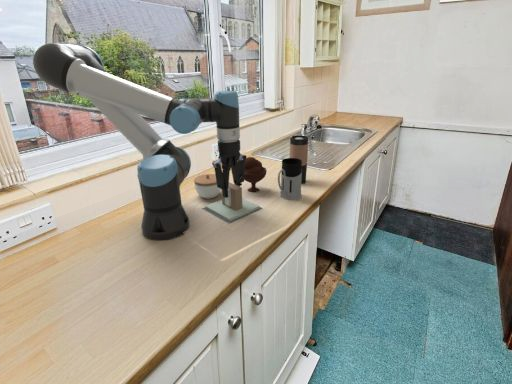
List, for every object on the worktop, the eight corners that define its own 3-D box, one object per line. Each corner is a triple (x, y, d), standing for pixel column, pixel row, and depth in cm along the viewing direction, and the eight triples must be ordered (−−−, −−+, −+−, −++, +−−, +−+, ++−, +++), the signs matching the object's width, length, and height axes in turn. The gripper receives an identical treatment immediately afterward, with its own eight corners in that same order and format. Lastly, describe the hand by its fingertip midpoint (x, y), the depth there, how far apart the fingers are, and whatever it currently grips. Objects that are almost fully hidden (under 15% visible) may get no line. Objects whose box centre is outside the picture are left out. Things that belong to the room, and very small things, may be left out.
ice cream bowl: (264, 197, 125) (264, 161, 119) (237, 195, 127) (235, 160, 121) (268, 187, 134) (268, 153, 128) (243, 185, 137) (242, 152, 131)
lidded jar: (190, 199, 125) (187, 177, 121) (205, 189, 133) (203, 168, 130) (213, 204, 120) (211, 181, 117) (227, 193, 129) (226, 172, 126)
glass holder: (305, 195, 126) (307, 159, 120) (288, 209, 115) (289, 170, 109) (286, 190, 131) (287, 156, 125) (268, 203, 120) (268, 166, 114)
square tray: (229, 225, 105) (228, 223, 105) (201, 209, 116) (201, 208, 116) (263, 209, 115) (263, 208, 115) (235, 197, 126) (235, 195, 126)
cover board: (229, 221, 106) (228, 197, 103) (205, 208, 116) (203, 185, 112) (259, 208, 115) (259, 185, 111) (234, 197, 124) (233, 175, 121)
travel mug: (309, 183, 138) (311, 138, 130) (293, 186, 135) (295, 140, 127) (300, 177, 144) (302, 134, 136) (285, 180, 142) (286, 136, 134)
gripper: (216, 146, 98) (220, 213, 107) (254, 137, 108) (255, 199, 117) (202, 142, 103) (207, 206, 112) (239, 133, 113) (242, 193, 122)
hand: (232, 203), depth 114 cm, fingers closed on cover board, 3 cm apart
